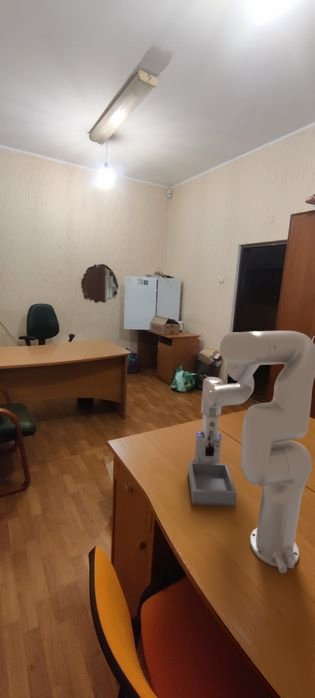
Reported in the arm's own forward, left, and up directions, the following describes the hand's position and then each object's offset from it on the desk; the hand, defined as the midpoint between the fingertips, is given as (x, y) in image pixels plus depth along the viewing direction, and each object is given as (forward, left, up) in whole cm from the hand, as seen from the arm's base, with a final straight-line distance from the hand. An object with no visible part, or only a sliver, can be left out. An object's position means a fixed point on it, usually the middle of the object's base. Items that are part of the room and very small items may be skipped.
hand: (207, 448), depth 120 cm
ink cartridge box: (0, 0, -6) cm, 6 cm away
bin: (-16, +1, -6) cm, 17 cm away
